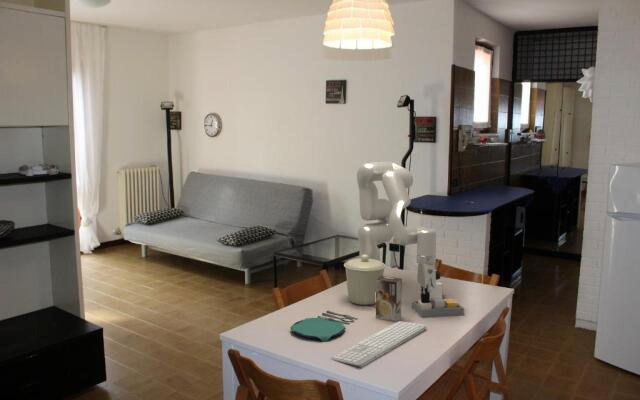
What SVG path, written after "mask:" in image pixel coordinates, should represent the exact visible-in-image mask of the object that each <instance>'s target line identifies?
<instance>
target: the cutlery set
mask: <svg viewBox="0 0 640 400" xmlns="http://www.w3.org/2000/svg"><path fill="white" fill-rule="evenodd" d="M321 315H322V316H320V315H318V316H317V317H308V318H307V317H306V318H304V319H301V320H299V321H296V322H295V323H293V324H292V325H291V326H290V331H291V333H295V334H296V335H298V336H302V337H305V338H310V339H320V340H321V341H322V342H327V341H329V339H330V338H333V337H334V338H335V337H337V336H339V335H341V334H342V333H344V332H345V330H346V326H345V325H350V323H351V322H352V323H353V322H354V321H356V320H358V319H359V318H357V317H354V316H350V315H349V314H342V313H338V312H337V313H336V312H334V311H330V310H326V313H325V312H322V313H321ZM323 316H324V317H323ZM325 316H327V317H325ZM332 317H333V318H332ZM335 318H336V319H335ZM344 324H345V325H344Z"/></svg>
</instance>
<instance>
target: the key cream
mask: <svg viewBox="0 0 640 400" xmlns="http://www.w3.org/2000/svg"><path fill="white" fill-rule="evenodd" d="M417 301H418V305H419V306H420V307H421V308H422V309H432V304H431V303H430V302H429V303H422V302H421V299H418V300H417Z"/></svg>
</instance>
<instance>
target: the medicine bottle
mask: <svg viewBox="0 0 640 400" xmlns="http://www.w3.org/2000/svg"><path fill="white" fill-rule="evenodd" d="M435 272H436V287H435V288H433V287H432V286H431V292H430V300H431V297H440V298H442V299H443V290H444V289H443V286H444V285H443V284H444V283H442V281H441V272H440V271H439V270H437V269H435Z"/></svg>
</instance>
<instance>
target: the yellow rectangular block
mask: <svg viewBox="0 0 640 400" xmlns="http://www.w3.org/2000/svg"><path fill="white" fill-rule="evenodd" d="M442 299H443V300H444V301H445V305H446V306H447V307H449V308H457V305H458V304H459V303H458V302H457V301H456V300H455V299H453V298H442Z"/></svg>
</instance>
